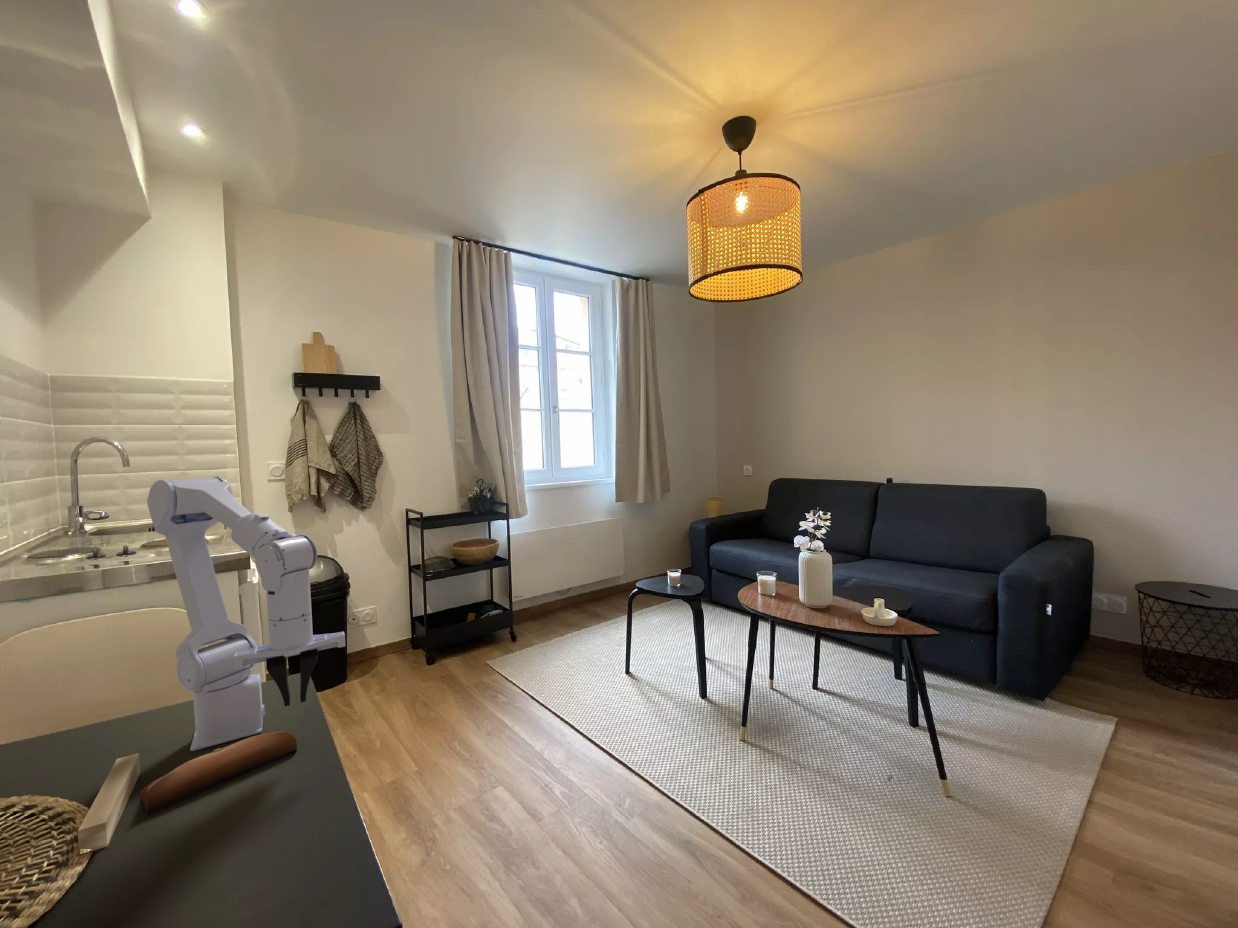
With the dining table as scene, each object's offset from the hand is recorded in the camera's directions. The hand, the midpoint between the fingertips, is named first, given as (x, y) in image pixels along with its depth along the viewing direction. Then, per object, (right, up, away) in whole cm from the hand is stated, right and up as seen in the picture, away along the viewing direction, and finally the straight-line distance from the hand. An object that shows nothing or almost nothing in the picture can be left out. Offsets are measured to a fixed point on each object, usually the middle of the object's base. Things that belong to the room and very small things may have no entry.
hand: (295, 701), depth 81 cm
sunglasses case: (-9, -10, -4) cm, 14 cm away
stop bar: (-18, -9, -11) cm, 23 cm away
